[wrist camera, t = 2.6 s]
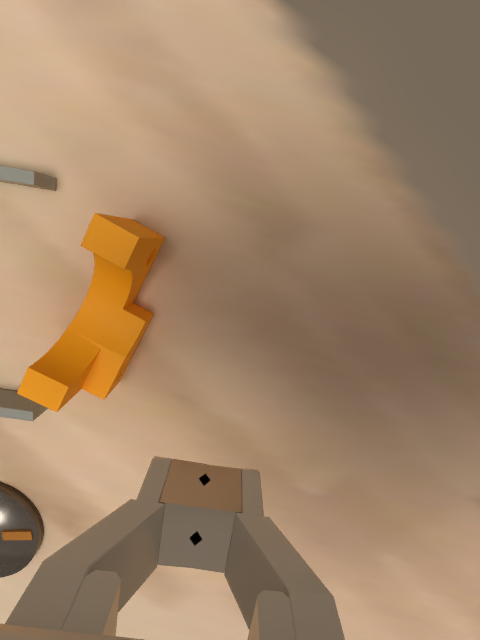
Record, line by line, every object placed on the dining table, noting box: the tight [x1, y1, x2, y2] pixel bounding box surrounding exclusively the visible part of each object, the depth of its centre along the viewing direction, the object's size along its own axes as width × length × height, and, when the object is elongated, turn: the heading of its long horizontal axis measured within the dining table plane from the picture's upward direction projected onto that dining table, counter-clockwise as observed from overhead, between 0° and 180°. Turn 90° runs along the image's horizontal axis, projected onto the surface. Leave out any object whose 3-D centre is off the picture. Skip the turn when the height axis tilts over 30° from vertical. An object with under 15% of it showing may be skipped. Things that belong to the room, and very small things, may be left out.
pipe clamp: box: [17, 213, 165, 412], centre depth 22 cm, size 12×4×6 cm, turn 151°
